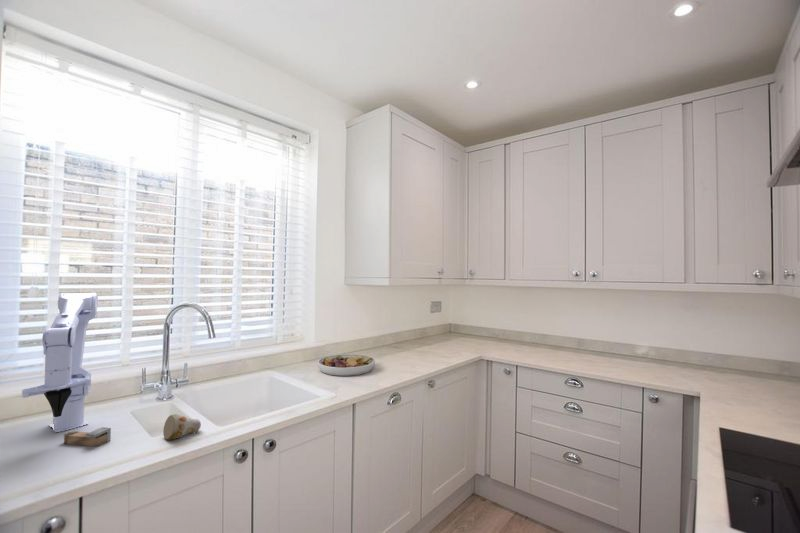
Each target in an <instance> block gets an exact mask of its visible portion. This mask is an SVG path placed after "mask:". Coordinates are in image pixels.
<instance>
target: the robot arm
mask: <svg viewBox="0 0 800 533" xmlns="http://www.w3.org/2000/svg"><path fill="white" fill-rule="evenodd" d="M98 302H99V301H98V294H97V293H96V292H85V293H84V292H83V293H80V292H79V293H77V292H76V293H73V292H72V293H64V292H61V293H60V294H59V296H58V299H57V309H58V311H59V314H58V315H57V316H55V318H54V320H53V322H52V324H51V325H50V327H48V329H45V330H44V331H43V334H42V338H41V339H42V340H41V341H42V348H43V355H45V356H44V384H41V385H37V386H33V387H29V388H24V389H21V397H22V398H23V399H25V398H26V399H27V398H29V397H33V396H37V395H44V396H45V398H46V400H47V402H48V404H49V406H50V407H51V408H50V409H51V412H52V423H53V424H54V430H53V432H54V433H56V432H59V433H61V432H60V431H62V432H65V430H66V431H70V430H73V429H72V428H74V429H77V428H76V427H78V428H80V427H79V426H82V425H86V424H88V425H89V422H88V421H86V422H84V420H85V397H86V396H88V395H89V394H90V393H91V388H92V373H91V372H90V371H89V370H88V369H86V368H84V367H82V366H83V360H84V359H83V358H84V351H85V345H86V344H85V342H86V336H87V328H88V324H89V322H90V321H91V320H93V319H95V318H96V315H97V313H98V312H97V311H98V305H99V304H98ZM85 423H86V424H85ZM86 426H87V425H86ZM82 427H83V426H82ZM69 429H70V430H69Z"/></svg>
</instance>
